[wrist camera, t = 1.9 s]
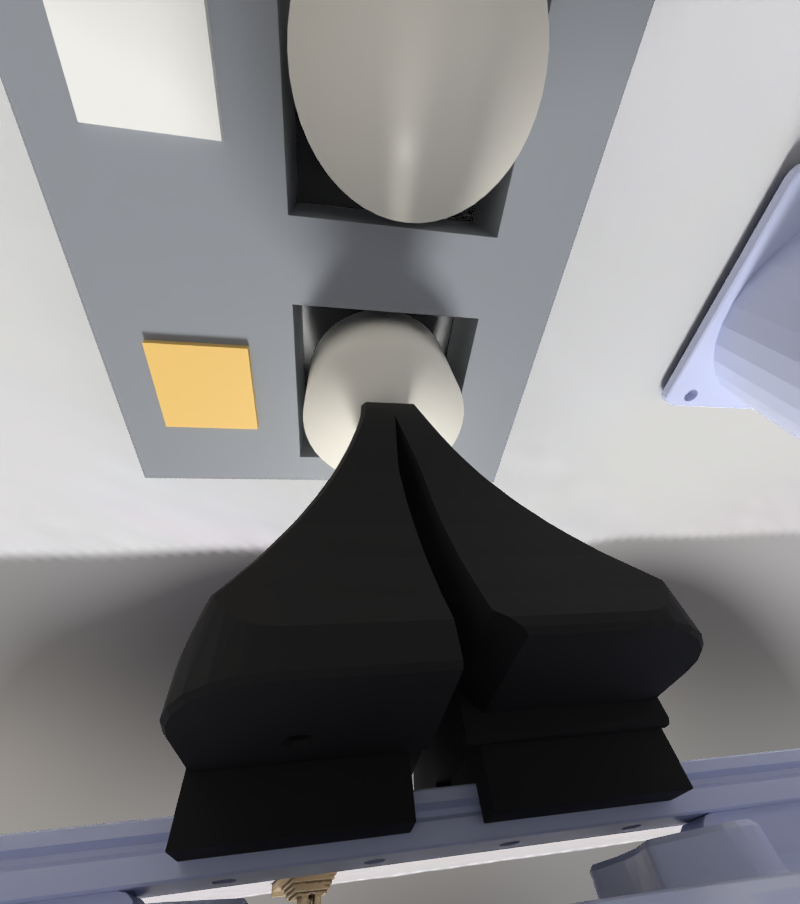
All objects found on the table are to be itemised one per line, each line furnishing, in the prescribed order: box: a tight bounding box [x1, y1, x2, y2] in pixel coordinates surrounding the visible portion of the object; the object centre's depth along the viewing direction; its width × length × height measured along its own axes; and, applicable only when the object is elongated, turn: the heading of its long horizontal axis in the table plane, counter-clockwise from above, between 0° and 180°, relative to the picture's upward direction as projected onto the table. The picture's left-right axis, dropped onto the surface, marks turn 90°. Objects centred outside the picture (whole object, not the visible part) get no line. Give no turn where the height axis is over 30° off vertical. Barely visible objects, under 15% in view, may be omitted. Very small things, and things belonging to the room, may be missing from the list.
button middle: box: [287, 0, 549, 223], centre depth 8 cm, size 4×4×3 cm
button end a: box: [303, 310, 464, 469], centre depth 12 cm, size 4×4×3 cm
